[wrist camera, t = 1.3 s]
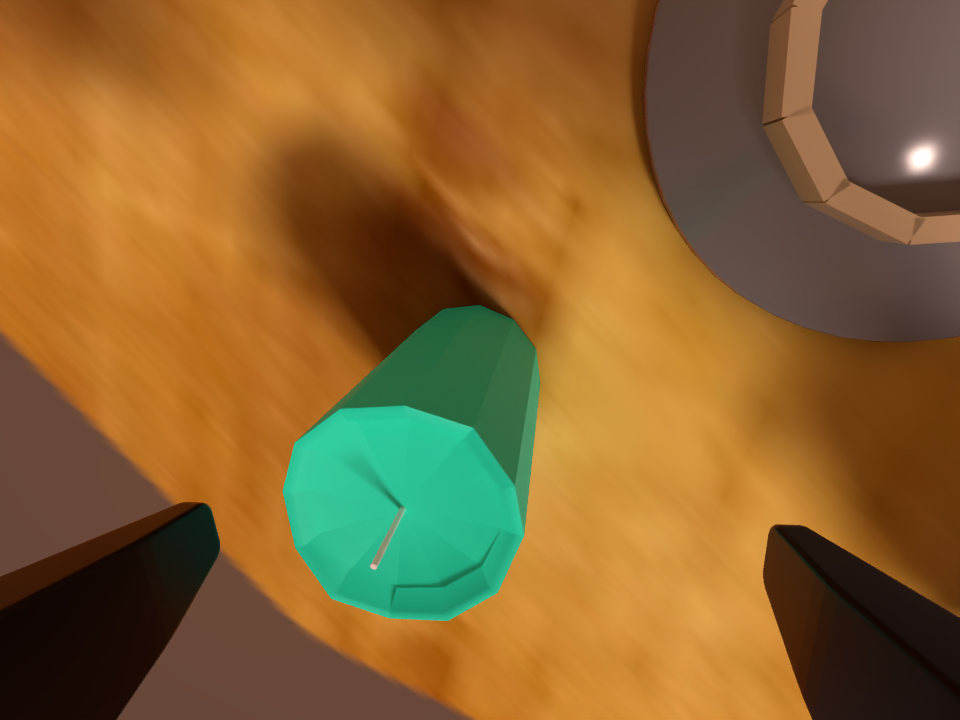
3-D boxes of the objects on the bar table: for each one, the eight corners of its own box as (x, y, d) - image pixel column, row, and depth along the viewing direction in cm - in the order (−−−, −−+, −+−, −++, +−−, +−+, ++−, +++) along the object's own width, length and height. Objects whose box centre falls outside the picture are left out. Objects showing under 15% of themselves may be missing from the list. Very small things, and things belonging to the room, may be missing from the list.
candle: (485, 459, 23) (411, 718, 11) (379, 380, 22) (194, 569, 11) (570, 363, 21) (583, 564, 9) (456, 274, 20) (324, 373, 9)
